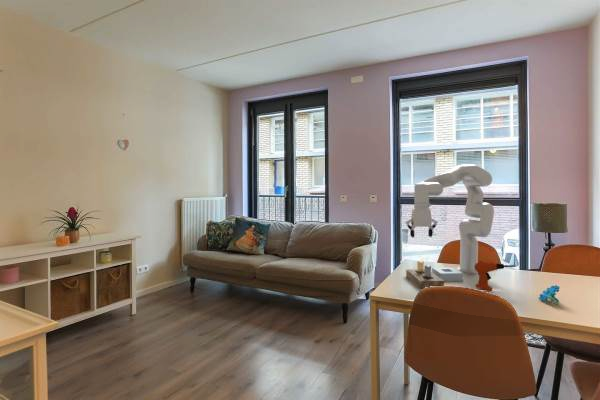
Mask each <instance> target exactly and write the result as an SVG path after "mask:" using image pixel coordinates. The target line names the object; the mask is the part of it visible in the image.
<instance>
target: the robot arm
mask: <svg viewBox="0 0 600 400" xmlns="http://www.w3.org/2000/svg"><path fill="white" fill-rule="evenodd" d="M460 182H462V184H463V185H464V186H465V188H466V191H467V198H466V203H465V207H464V209H465V210H464V214H465V216H466V217H469V218H474V219H468V218H466V219H462V220H461V221H460V222H459V225H458V230H459V238H460V242H459V243H460V247H459V249H460V250H459V251H460V252H459V266H458V267H457V268H456V270H458V271H460V272H462V273H471V274H473V273H474V274H476V275H477V274H478V272H477V271H476V270H475V268H474V266H475V264H476V263H478V262H479V261H478V259H479V258H478V257H479V254H478V253H479V241H478V239H477V237H478V238H487V237H488V236H489V235H491V231H492V226H493V222H494V221H493V220H494V215H495V208H494V206H493V205H492V204H491V203H489V202H484V201H483V200H484V191H483V190H482V188H483V187H488V186H490V185H491V184H492V182H493V177H492V175H491V173H490V172H489V171H487V170H485V169H484V168H482V167H480V166H479V165H478V164H477V165H476V164H459V165H457V166H455V167H453V168H451V169H449V170H448V171H446V172H443V173H441V174H437V175H434V176H431V177H428V178H426V179H424V180H422V181H421V182H418V183H415V184H414V187H413V188H414V203H413V204H414V205H413V206H414V208H412V210H411V216H410V217H411V219H408V220H406V221H405V222H404V223H405V224H406V227H407V228H408V229H409V234H410V237H412V238H415V230H414V229H415V228H416V227H421V228H422V227H427V228H428V237H430V238H432V237H433V235H434V234H433V231H434V229H435V228H436V227H437V225H438V221H437V220H436V219H433V218H432V211H431V208H430V207H431V206H432V203H431V202H430V197H439V196H440V195H442V194H443V193H444V192H443V191H444V188H445V189H446V188H449V187H453V186H455V185H457V184H458V183H460ZM481 187H482V188H481ZM477 219H478V220H477ZM432 223H433V224H432ZM478 275H479V274H478Z"/></svg>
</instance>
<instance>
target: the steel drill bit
mask: <svg viewBox="0 0 600 400" xmlns="http://www.w3.org/2000/svg"><path fill="white" fill-rule="evenodd" d="M431 272H432V265H429V264H427V265H425V264H424V279H431Z"/></svg>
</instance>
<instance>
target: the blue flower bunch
mask: <svg viewBox="0 0 600 400" xmlns="http://www.w3.org/2000/svg"><path fill="white" fill-rule="evenodd" d="M560 289H561V288H560V286H559V285H557V284H555V285H551V286H550V287H546V290H543V291H542V293H540V294H539V297H538V300H540V301H542V302H543V301H546V302H547V301H548V299H549V301H550V302H553V303H554V304H555V305H556V306H558V305H559V302H560V300H559V299H558V298H557V297H555V296H556V295H557V293H559V291H560Z"/></svg>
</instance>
